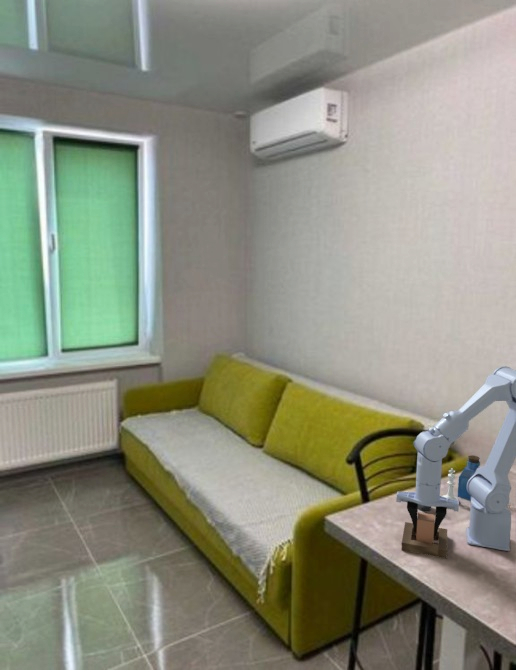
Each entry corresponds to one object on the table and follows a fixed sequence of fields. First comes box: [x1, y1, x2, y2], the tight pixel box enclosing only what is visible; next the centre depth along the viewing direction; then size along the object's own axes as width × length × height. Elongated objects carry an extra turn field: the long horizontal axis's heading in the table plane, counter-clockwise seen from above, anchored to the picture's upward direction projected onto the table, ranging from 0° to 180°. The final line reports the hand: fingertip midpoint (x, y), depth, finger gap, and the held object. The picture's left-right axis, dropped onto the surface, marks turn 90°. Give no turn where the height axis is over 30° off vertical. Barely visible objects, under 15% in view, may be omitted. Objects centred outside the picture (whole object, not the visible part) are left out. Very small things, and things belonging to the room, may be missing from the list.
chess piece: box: [441, 467, 460, 502], centre depth 151 cm, size 5×5×10 cm
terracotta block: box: [415, 511, 435, 544], centre depth 129 cm, size 4×4×6 cm
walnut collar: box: [400, 521, 448, 559], centre depth 129 cm, size 10×10×2 cm
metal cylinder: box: [418, 504, 432, 512], centre depth 147 cm, size 4×4×5 cm
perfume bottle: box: [457, 455, 481, 501], centre depth 154 cm, size 6×6×12 cm
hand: (425, 532), depth 129 cm, fingers closed on terracotta block, 4 cm apart
